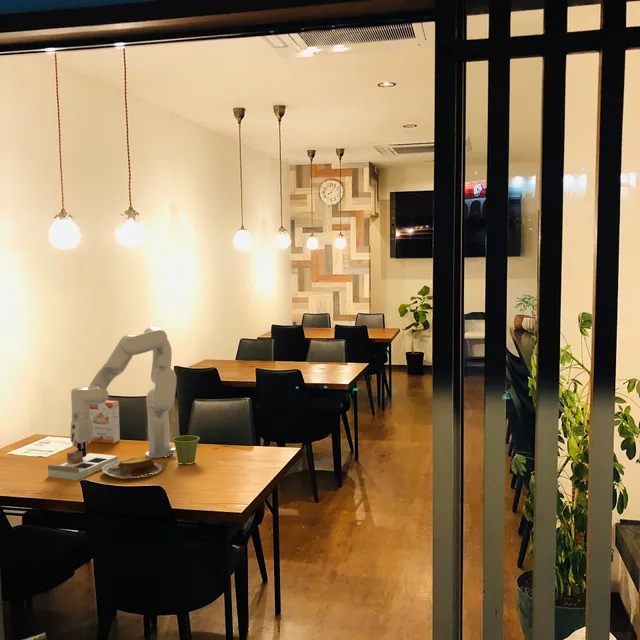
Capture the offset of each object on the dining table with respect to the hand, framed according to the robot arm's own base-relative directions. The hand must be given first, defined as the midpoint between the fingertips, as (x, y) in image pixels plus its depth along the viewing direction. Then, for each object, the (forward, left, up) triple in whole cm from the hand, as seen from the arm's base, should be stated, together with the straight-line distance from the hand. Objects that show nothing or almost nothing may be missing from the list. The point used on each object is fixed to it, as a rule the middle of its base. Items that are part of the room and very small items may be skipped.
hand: (82, 456), depth 292 cm
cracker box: (+18, -38, -5) cm, 42 cm away
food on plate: (-27, +1, -5) cm, 27 cm away
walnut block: (0, +4, -1) cm, 5 cm away
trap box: (-4, +4, -4) cm, 7 cm away
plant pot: (-41, -19, -5) cm, 46 cm away
